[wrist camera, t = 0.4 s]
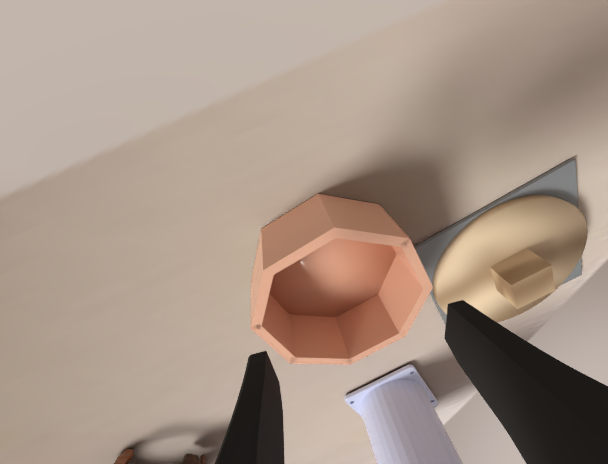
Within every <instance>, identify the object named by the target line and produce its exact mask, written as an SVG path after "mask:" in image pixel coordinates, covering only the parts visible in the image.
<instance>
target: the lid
mask: <svg viewBox="0 0 608 464" xmlns="http://www.w3.org/2000/svg"><path fill="white" fill-rule="evenodd" d="M586 240H587V224H586V221H585V218H584V216H583V214H582V213H581V211H580V210H579V209H578V208H576V207H575V206H574V205H572V204H570V203H569V202H566V201H564V200H562V199H559V198H557V197H553V196H549V195H527V196H521V197H517V198H514V199H510V200H508V201H505V202H503V203H500V204H498V205H496V206H494V207H492V208H490V209H488V210H487V211H485V212H483V213H482V214H480V215H479V216H477V217H476V218H475V219H473V220H472V221H471V222H469V223H468V224H467V225H466V226H465V227H464V228H463V229H461V230H460V231H459V232H458V234H457V235H456V236H455V237H454V238H453V239H452V240H451V242H450V243H449V244H448V245H447V247H446V248H445V250H444V251H443V253H442V255H441V256H440V258H439V261H438V263H437V265H436V268H435V271H434V275H433V280H432V286H433V295H434V297H435V300H436V302H437V303H438V305H439V306H440V307H441V309H442V310H443V311H444V312H445V313H446V315H447V307H448V304H449V303H453V302H457V301H461V300H464V301H465V302H467V303H468V304H470V305H471V306H473V307H474V308H476V309H477V310H479V311H480V312H482V313H483V314H485V315H486V316H488V317H489V318H491V319H492V320H494V321H495V322H500V321H503V320H506V319H509V318H512V317H514V316H517V315H519V314H521V313H523V312H525V311H527V310H529V309H530V308H532V307H534V306H535V305H537V304H538V303H540V302H541V301H543V300H544V299H545V298H547V297H548V296H549V295H550V294H551V293H553V292H554V291H555V290H556V289H557V288H558V287H559V286H560V285H561V284H562V283H563V282H564V281H565V280H566V279H567V277H568V276H569V275H570V274H571V272H572V271H573V270H574V268H575V266H576V265H577V263H578V262H579V260H580V258H581V256H582V254H583V251H584V248H585V245H586Z"/></svg>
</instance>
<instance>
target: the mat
mask: <svg viewBox="0 0 608 464" xmlns="http://www.w3.org/2000/svg"><path fill="white" fill-rule="evenodd" d="M527 195H549V196H553V197H557V198H559V199H562V200H564V201H566V202H569V203H570V204H572V205H574V206H575V207H576V208H578V197H577V179H576V161H575V159H572V158H571V159H569V160H567V161H566V162H564V163H562V164H560V165H558V166H557V167H555V168H553V169H551V170H550V171H548V172H546V173H544V174H542V175H541V176H539V177H537V178H535V179H534V180H532V181H530V182H528V183H526V184H525V185H523V186H521V187H519V188H517V189H516V190H514V191H512V192H510V193H509V194H507V195H505V196H503V197H501V198H500V199H498V200H496V201H494V202H493V203H491V204H489V205H487V206H485V207H484V208H482V209H480V210H478V211H476V212H475V213H473V214H471V215H469V216H468V217H466V218H464V219H462V220H460V221H459V222H457V223H455V224H453V225H452V226H450V227H448V228H446V229H444V230H443V231H441V232H439V233H437V234H435V235H434V236H432V237H430V238H428V239H427V240H425V241H423V242H421V243H419V244H418V245H416V246H414V248H415V250H416V252H417V254H418V256H419V259H420V261H421V263H422V265H423V267H424V269H425V271H426V273H427V275H428V277H429V279H430V281H431V284H432V280H433V275H434V271H435V268H436V265H437V263H438V261H439V258H440V256H441V255H442V253H443V251H444V250H445V248H446V247H447V245H448V244H449V243H450V242H451V240H452V239H453V238H454V237H455V236H456V235H457V234H458V232H459V231H460V230H461V229H463V228H464V227H465V226H466V225H467V224H468V223H469V222H471V221H472V220H473V219H475V218H476V217H477V216H479V215H480V214H482V213H483V212H485V211H487V210H488V209H490V208H492V207H494V206H496V205H498V204H500V203H503V202H505V201H508V200H510V199H514V198H517V197H521V196H527ZM580 275H582V267H581V258H580V260H579V262H578V263H577V265H576V266H575V268H574V270H573V271H572V272H571V274H570V275H569V276H568V277H567V279H566V280H565V281H564V282H563V283H562V284H564V283H566V282H568V281H570V280H572V279H574V278H576V277H578V276H580ZM562 284H561V285H562ZM430 294H431V296H432V298H433V300H434V302H435V304H436V306H437V308H438V310H439V312H440V314H441V316H442V318H443V320H444V322H445V324H446V318H447V315H446V313H445V312H444V311H443V310H442V309H441V307H440V306H439V305H438V303H437V302H436V300H435V297H434V295H433V289H432V290H431V292H430Z"/></svg>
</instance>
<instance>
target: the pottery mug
mask: <svg viewBox="0 0 608 464" xmlns="http://www.w3.org/2000/svg"><path fill="white" fill-rule="evenodd" d="M133 455H134V451H133V450H132V449H126V450H125V451H124V452H123V453H122V454H121V455H120V456H119V457H118V458H117V460H116V461H115V463H114V464H128V463H129V461H130V460H131V458H132V457H133ZM182 464H206V458H205V456H204V455H202V456H201V457H200V461H199V458H198V456H196V455H193V454H186V455H185V456H184V459H183V461H182Z"/></svg>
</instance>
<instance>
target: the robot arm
mask: <svg viewBox="0 0 608 464" xmlns="http://www.w3.org/2000/svg"><path fill="white" fill-rule="evenodd" d="M445 340H446V342H447V343H448V345H449V347H450V349H451V351H452V353H453V354H454V356H455V358H456V360H457V361H458V363H459V365H460V366H461V367H462V369H463V370H464V372H465V373H466V375H467V376H468V377H469V379H470V380H471V382H472V383H473V384H474V386H475V387H476V389H477V390H478V391H479V393H480V394H481V396H482V397H483V398H484V400H485V401H486V402H487V404H488V405H489V407H490V408H491V409H492V411H493V412H494V414H495V415H496V416H497V418H498V419H499V421H500V422H501V423H502V425H503V426H504V428H505V429H506V431H507V432H508V434H509V435H510V437H511V438H512V440H513V442H514V443H515V445H516V447H517V448H518V450H519V452H520V453H521V455H522V457H523V458H524V460H525V462H526V463H527V464H608V386H606V385H604V384H602V383H600V382H598V381H596V380H594V379H592V378H590V377H588V376H586V375H584V374H582V373H580V372H578V371H577V370H575V369H573V368H571V367H569V366H567V365H566V364H564V363H562V362H560V361H559V360H557V359H555V358H553V357H552V356H550V355H548V354H547V353H545V352H543V351H541V350H540V349H538V348H536V347H535V346H533V345H532V344H530V343H528V342H527V341H525V340H524V339H522V338H520V337H519V336H517V335H516V334H514V333H512V332H511V331H509V330H508V329H506V328H505V327H503V326H502V325H500V324H498V323H497V322H495V321H494V320H492V319H491V318H489V317H488V316H486V315H485V314H483V313H482V312H480V311H479V310H477V309H476V308H474V307H473V306H471V305H470V304H468V303H467V302H465V301H464V300H461V301H457V302H453V303H449V304H448V307H447V318H446V329H445ZM345 402H346V403H347V404H348V405H350V406H351V407H352V408H353V409H354V410H355V411H356V412H357V413H358V414H359V415H360V416H361V417H362V418H363V420H364V423H365V426H366V429H367V432H368V436H369V439H370V442H371V445H372V448H373V452H374V455H375V458H376V461H377V464H463V463H462V461H461V459H460V457H459V455H458V453H457V451H456V449H455V447H454V445H453V444H452V441H451V440H450V438H449V436H448V434H447V432H446V430H445V428H444V426H443V424H442V422H441V421H440V419H439V417H438V415H437V413H436V411H435V409H434V407H436V406H437V405H438V404H439V403H438V401H437V399H436V398H435V396H434V395H433V393H432V392H431V390H430V389H429V388H428V386H427V385H426V383H425V382H424V380H423V379H422V377H421V376H420V374H419V373H418V372H417V370H416V369H415V367H414V366H413V365H411V364H410V365H407V366H405V367H403V368H401V369H398V370H396V371H394V372H392V373H390V374H388V375H386V376H384V377H382V378H380V379H378V380H376V381H374V382H372V383H370V384H368V385H366V386H364V387H362V388H360V389H358V390H356V391H354V392H352V393H350V394H348V395H346V396H345ZM215 464H284V434H283V409H282V401H281V393H280V385H279V381H278V378H277V376H276V373H275V371H274V369H273V366H272V364H271V361H270V359H269V356H268V354H267V352H266V351H264V352H260V353H256V354H253V355H250V356H249V358H248V363H247V367H246V371H245V375H244V379H243V383H242V386H241V390H240V393H239V397H238V400H237V403H236V406H235V409H234V412H233V415H232V418H231V421H230V424H229V427H228V430H227V432H226V435H225V438H224V440H223V443H222V446H221V449H220V451H219V454H218V456H217V459H216V461H215Z"/></svg>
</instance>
